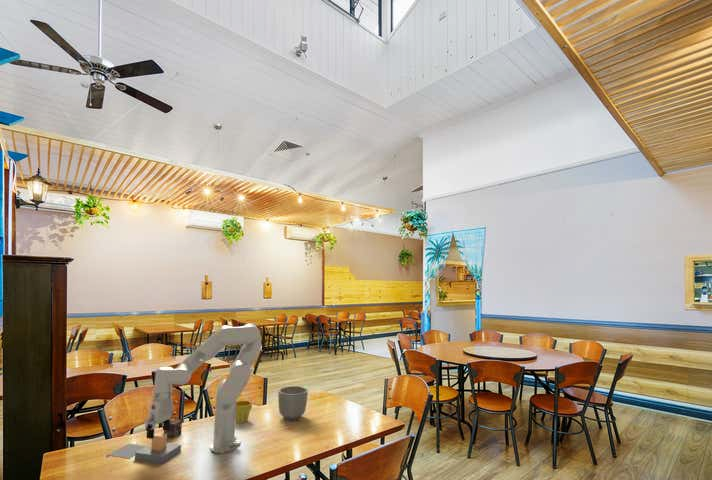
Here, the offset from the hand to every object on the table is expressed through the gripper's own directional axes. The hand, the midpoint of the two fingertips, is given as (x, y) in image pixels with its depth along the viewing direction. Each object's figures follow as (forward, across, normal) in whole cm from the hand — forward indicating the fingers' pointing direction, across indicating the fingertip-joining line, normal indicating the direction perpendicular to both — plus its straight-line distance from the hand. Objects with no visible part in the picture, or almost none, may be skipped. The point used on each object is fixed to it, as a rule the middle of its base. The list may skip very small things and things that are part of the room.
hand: (158, 434), depth 167 cm
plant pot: (+9, +49, -15) cm, 52 cm away
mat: (+10, +1, +15) cm, 18 cm away
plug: (+9, +1, -1) cm, 9 cm away
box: (+10, +21, +8) cm, 24 cm away
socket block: (+10, +1, -1) cm, 10 cm away
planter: (+8, +61, -41) cm, 73 cm away
